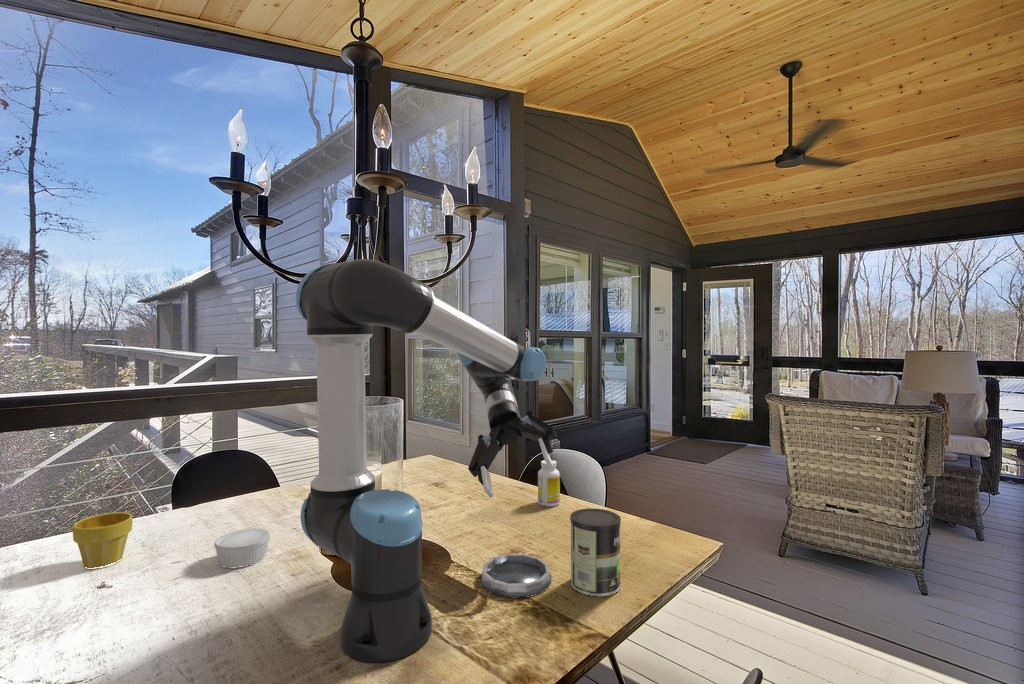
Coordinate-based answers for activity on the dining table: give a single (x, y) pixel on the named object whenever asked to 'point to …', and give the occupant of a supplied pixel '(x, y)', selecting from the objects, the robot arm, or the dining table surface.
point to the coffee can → (595, 552)
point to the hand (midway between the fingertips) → (518, 479)
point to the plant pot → (102, 538)
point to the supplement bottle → (548, 485)
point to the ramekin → (242, 547)
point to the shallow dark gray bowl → (516, 575)
